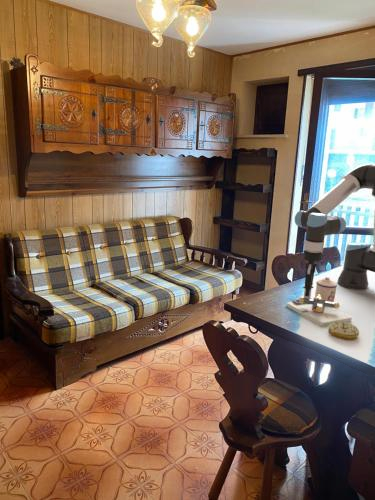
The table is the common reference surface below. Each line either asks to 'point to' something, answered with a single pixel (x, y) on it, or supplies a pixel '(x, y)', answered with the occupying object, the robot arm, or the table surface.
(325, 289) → the teacup with lid
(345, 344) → the table surface
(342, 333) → the olive yellow engraved disc
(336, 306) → the capstan
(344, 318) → the level stand
